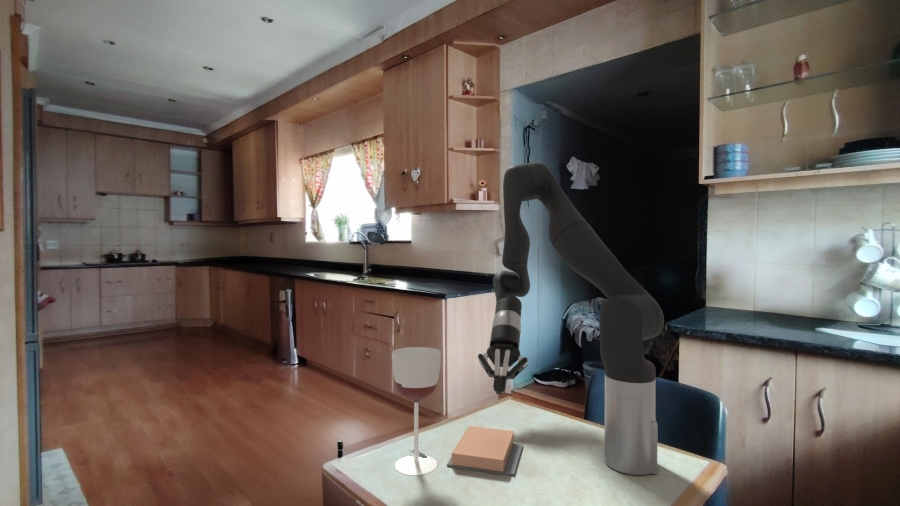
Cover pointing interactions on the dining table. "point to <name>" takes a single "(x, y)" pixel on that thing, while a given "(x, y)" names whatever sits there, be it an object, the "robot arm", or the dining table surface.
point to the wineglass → (416, 395)
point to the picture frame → (483, 448)
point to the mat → (510, 464)
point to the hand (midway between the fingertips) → (499, 392)
